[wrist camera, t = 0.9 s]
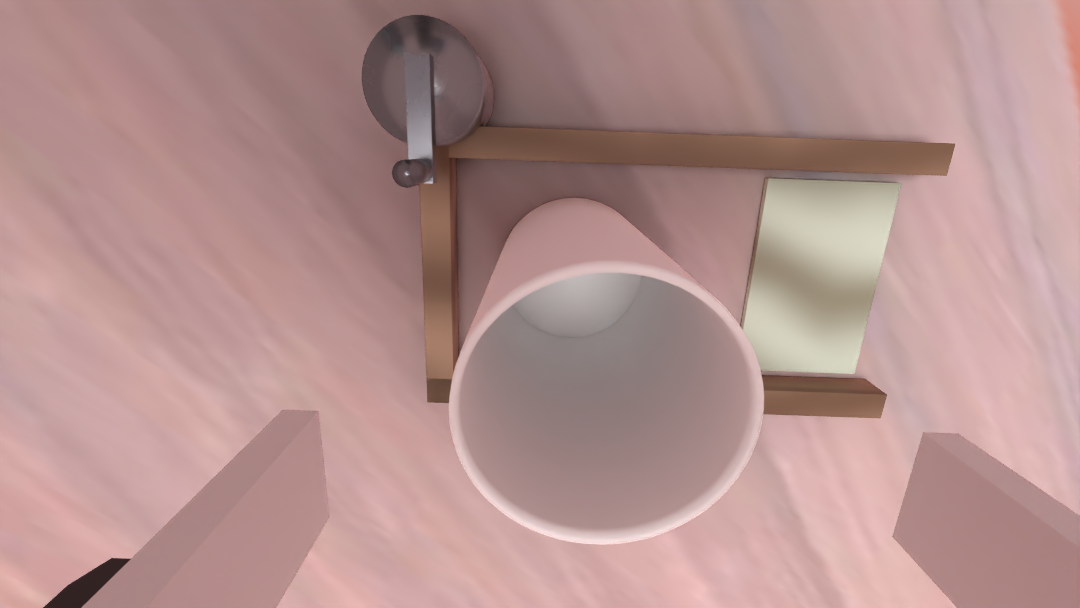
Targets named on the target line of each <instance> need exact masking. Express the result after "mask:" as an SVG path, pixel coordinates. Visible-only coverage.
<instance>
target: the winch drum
mask: <svg viewBox="0 0 1080 608" xmlns="http://www.w3.org/2000/svg"><path fill="white" fill-rule="evenodd" d="M362 85H363V91H364V95H365V99H366V101H367V104H368V106H369V108H370V110H371V112H372V114H373V115H374V117H375V118H376V120H377V121H378V122H379V123H380V125H381V126H382V127H383V128H384V129H385V130H386V131H388V132H389V133H390V134H391V135H393V136H394V137H396V138H398V139H400V140H401V141H404V142H406V143H408V160H401V161H399V162H397V163H396V164H395V165H394V167H393V170H392V175H393V179H394V180H395V182H396V183H397V184H398V185H400V186H402V187H406V188H408V187H412V186H416V185H419V184H422V183H428V184H434V183H437V166H436V146H450V145H454V144H457V143H459V142H461V141H463V140H465V139H467V138H468V137H470V136H471V135H472V134H473V133H474V132H475V131H476V130H477V129H478V127H479V126H486V124H487V123H488V121H489V119H490V116H491V113H492V110H493V105H494V89H493V83H492V80H491V77H490V74H489V72H488V70H487V68H486V66H485V65H484V63H483V62H482V60H481V59H480V58H479V56H478V55H477V54H476V52H475V51H474V49H473V48H472V47H471V45H470V44H469V42H468V41H467V40H466V39H465V37H464V36H463V35H462V34H461V33H460V32H459V31H458V30H456V29H455V28H454V27H452V26H451V25H449V24H448V23H446V22H444V21H442V20H440V19H437V18H434V17H430V16H424V15H411V16H406V17H402V18H399V19H397V20H395V21H393V22H391V23H389V24H388V25H386V26H385V27H384V28H382V29H381V30H380V31H379V32H378V33H377V35H376V36H375V37H374V39H373V40H372V41H371V43H370V45H369V47H368V49H367V52H366V54H365V57H364V62H363V68H362Z"/></svg>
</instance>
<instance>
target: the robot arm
mask: <svg viewBox="0 0 1080 608" xmlns="http://www.w3.org/2000/svg"><path fill="white" fill-rule="evenodd" d="M329 517H330V516H329V507H328V498H327V488H326V479H325V469H324V460H323V451H322V441H321V432H320V422H319V413H318V411H301V410H282V411H281V412H280V413H279V414H278V415H277V416H276V417H275V418H274V419H273V420H272V421H271V422H270V423H269V424H268V425H267V426H266V427H265V428H264V429H263V430H262V431H261V432H260V433H259V434H258V435H257V436H256V437H255V438H254V439H253V440H252V441H251V442H250V443H249V444H248V445H247V446H246V447H245V448H244V449H243V450H241V451H240V452H239V453H238V454H237V455H236V456H235V457H234V458H233V459H232V460H231V461H230V462H229V463H228V464H227V465H226V466H225V467H224V468H223V469H222V470H221V471H220V472H219V473H218V474H217V475H216V476H215V477H214V478H213V479H212V480H211V481H210V482H209V483H208V484H207V485H206V486H205V487H204V488H203V489H202V490H201V491H200V492H199V493H198V494H197V495H196V496H195V497H194V498H193V499H192V500H191V501H190V502H189V503H188V504H186V505H185V506H184V507H183V508H182V509H181V510H180V511H179V512H178V513H177V514H176V515H175V516H174V517H173V518H172V519H171V520H170V521H169V522H168V523H167V524H166V525H165V526H164V527H163V528H162V529H161V530H160V531H159V532H158V533H157V534H156V535H155V536H154V537H153V538H152V539H151V540H150V541H149V542H148V543H147V544H146V545H145V546H144V547H143V548H142V549H141V550H140V551H139V552H138V553H137V554H136V555H135V556H134V557H133V558H131V559H120V558H111V559H110V560H108V561H106V562H105V563H103V564H101V565H100V566H98V567H97V568H95V569H93V570H92V571H90V572H89V573H87V574H85V575H84V576H82V577H81V578H79V579H77V580H76V581H74V582H72V583H71V584H69V585H68V586H67V587H65V588H64V589H63V590H62V591H61V592H60V593H59V594H58V595H57V596H56V597H54V598H53V599H52V600H51V601H50V602H49V603H48V604H47V605H46V606H45V607H43V608H276V607H277V605H278V604H279V602H280V600H281V598H282V597H283V595H284V593H285V592H286V590H287V588H288V587H289V585H290V583H291V582H292V580H293V578H294V576H295V575H296V573H297V571H298V570H299V568H300V566H301V565H302V563H303V561H304V559H305V558H306V556H307V554H308V553H309V551H310V549H311V548H312V546H313V544H314V543H315V541H316V539H317V537H318V536H319V534H320V532H321V531H322V529H323V527H324V526H325V524H326V522H327V520H328V519H329ZM892 537H893V538H894V539H895V540H896V541H897V542H898V543H899V544H900V545H901V546H902V548H903V549H904V550H905V551H906V552H907V553H908V554H909V555H910V556H911V557H912V559H913V560H914V561H915V562H916V563H917V564H918V565H919V566H920V567H921V568H922V570H923V571H924V572H925V573H926V574H927V575H928V576H929V577H930V578H931V579H932V581H933V582H934V583H935V584H936V585H937V586H938V587H939V588H940V589H941V590H942V592H943V593H944V594H945V595H946V596H947V597H948V598H949V599H950V600H951V601H952V603H953V604H954V605H955V606H956V607H957V608H1080V516H1079V515H1078V514H1076V513H1075V512H1073V511H1072V510H1070V509H1069V508H1067V507H1066V506H1065V505H1063V504H1062V503H1060V502H1059V501H1057V500H1056V499H1054V498H1053V497H1051V496H1050V495H1048V494H1047V493H1045V492H1044V491H1042V490H1041V489H1039V488H1038V487H1036V486H1035V485H1033V484H1032V483H1031V482H1029V481H1028V480H1026V479H1025V478H1023V477H1022V476H1020V475H1019V474H1017V473H1016V472H1014V471H1013V470H1011V469H1010V468H1008V467H1007V466H1005V465H1004V464H1002V463H1001V462H999V461H998V460H997V459H995V458H994V457H992V456H991V455H989V454H988V453H986V452H985V451H983V450H982V449H980V448H979V447H977V446H976V445H974V444H973V443H971V442H970V441H968V440H967V439H965V438H964V437H963V436H961V435H960V434H953V433H925V432H923V435H922V438H921V442H920V445H919V448H918V452H917V455H916V458H915V462H914V465H913V469H912V472H911V475H910V479H909V482H908V486H907V489H906V492H905V496H904V499H903V503H902V506H901V509H900V513H899V516H898V520H897V523H896V526H895V530H894V533H893V536H892Z"/></svg>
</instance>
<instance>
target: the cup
mask: <svg viewBox="0 0 1080 608" xmlns="http://www.w3.org/2000/svg"><path fill="white" fill-rule="evenodd" d="M763 412H764V388H763V380H762V375H761V370H760V366H759V363H758V360H757V357H756V354H755V352H754V350H753V347H752V345H751V343H750V341H749V340H748V338H747V336H746V334H745V333H744V331H743V329H742V328H741V327H740V325H739V324H738V322H737V321H736V320H735V318H734V317H733V316H732V314H731V313H730V312H729V311H728V310H727V309H726V308H725V306H724V305H723V304H722V303H721V302H720V301H719V300H718V299H716V298H715V297H714V296H713V295H712V294H711V293H710V292H709V291H707V290H706V289H705V288H704V287H703V286H702V285H701V284H700V283H698V282H697V281H696V280H695V279H694V278H693V277H692V276H690V275H689V274H688V273H687V272H686V271H685V270H684V269H682V268H681V267H680V266H679V265H678V264H677V263H676V262H674V261H673V260H672V259H671V258H670V257H669V256H668V255H666V254H665V253H664V252H663V251H662V250H661V249H660V248H658V247H657V246H656V245H655V244H654V243H653V242H652V241H650V240H649V239H648V238H647V237H646V236H645V235H644V234H642V233H641V232H640V231H639V230H638V229H637V228H635V227H634V226H633V225H632V224H631V223H630V222H629V221H627V220H626V219H625V218H624V217H623V216H622V215H621V214H619V213H618V212H617V211H615V210H614V209H612V208H610V207H609V206H607V205H605V204H602V203H600V202H597V201H594V200H590V199H584V198H564V199H558V200H554V201H551V202H548V203H545V204H543V205H541V206H539V207H537V208H535V209H534V210H532V211H531V212H529V213H528V214H527V215H526V216H524V217H523V218H522V219H521V220H520V221H519V222H518V223H517V225H516V226H515V227H514V228H513V230H512V231H511V233H510V234H509V236H508V238H507V240H506V242H505V245H504V247H503V250H502V252H501V254H500V257H499V259H498V262H497V264H496V267H495V269H494V271H493V274H492V276H491V279H490V281H489V283H488V286H487V288H486V291H485V293H484V296H483V298H482V300H481V303H480V305H479V308H478V310H477V312H476V315H475V317H474V320H473V322H472V325H471V327H470V330H469V332H468V334H467V337H466V339H465V342H464V344H463V347H462V349H461V352H460V354H459V357H458V360H457V362H456V365H455V369H454V373H453V377H452V383H451V390H450V397H449V421H450V429H451V434H452V439H453V443H454V446H455V449H456V452H457V455H458V457H459V459H460V462H461V464H462V466H463V468H464V469H465V471H466V473H467V475H468V476H469V478H470V479H471V481H472V482H473V484H474V485H475V486H476V488H477V489H478V490H479V491H480V492H481V494H482V495H483V496H484V497H485V498H486V499H487V500H488V501H489V502H490V503H491V504H492V505H493V506H495V507H496V508H497V509H498V510H500V511H501V512H502V513H503V514H505V515H506V516H508V517H509V518H511V519H512V520H514V521H515V522H517V523H519V524H521V525H523V526H525V527H526V528H529V529H531V530H533V531H536V532H538V533H540V534H543V535H546V536H549V537H552V538H556V539H560V540H564V541H569V542H575V543H583V544H619V543H627V542H633V541H638V540H642V539H646V538H650V537H653V536H656V535H660V534H663V533H665V532H667V531H670V530H672V529H675V528H677V527H679V526H681V525H683V524H685V523H687V522H688V521H690V520H692V519H693V518H695V517H696V516H698V515H700V514H701V513H702V512H704V511H705V510H706V509H708V508H709V507H710V506H712V505H713V504H714V503H715V502H716V501H717V500H718V499H719V498H721V497H722V496H723V495H724V494H725V492H726V491H727V490H728V489H729V488H730V487H731V486H732V485H733V483H734V482H735V481H736V479H737V478H738V477H739V476H740V474H741V472H742V471H743V469H744V468H745V466H746V464H747V463H748V461H749V459H750V457H751V455H752V453H753V451H754V448H755V445H756V443H757V440H758V437H759V433H760V429H761V425H762V419H763Z"/></svg>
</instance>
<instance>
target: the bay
mask: <svg viewBox="0 0 1080 608" xmlns="http://www.w3.org/2000/svg"><path fill="white" fill-rule="evenodd" d="M954 147H955V144H949V143H922V142H895V141H867V140H840V139H813V138H786V137H759V136H732V135H704V134H677V133H650V132H623V131H596V130H569V129H542V128H514V127H487V126H479V127H478V129H477V130H476V131H475V132H474V133H473V134H472V135H471V136H470V137H468V138H467V139H465V140H463V141H461V142H459V143H457V144H454V145H450V146H436V166H437V183H434V184H428V183H422V184H420V211H421V239H422V266H423V293H424V320H425V347H426V374H427V401H428V402H435V403H449V397H450V390H451V383H452V377H453V373H454V369H455V365H456V362H457V360H458V357H459V325H458V259H457V193H456V158H476V159H503V160H531V161H558V162H585V163H613V164H640V165H667V166H694V167H722V168H749V169H776V170H804V171H831V172H858V173H885V174H913V175H940V176H947V173H948V169H949V165H950V162H951V158H952V154H953V151H954ZM900 187H901V183H890V182H863V181H835V180H808V179H781V178H765V183H764V189H763V195H762V201H761V207H760V213H759V219H758V225H757V231H756V238H755V244H754V250H753V256H752V262H751V268H750V274H749V280H748V286H747V292H746V298H745V304H744V310H743V316H742V322H741V328H742V329H743V331H744V333H745V334H746V336H747V338H748V340H749V341H750V343H751V345H752V347H753V350H754V352H755V354H756V357H757V360H758V363H759V366H760V370H762V371H790V372H818V373H846V374H854V373H855V369H856V365H857V361H858V357H859V353H860V349H861V345H862V341H863V337H864V333H865V329H866V325H867V321H868V317H869V313H870V309H871V305H872V301H873V297H874V292H875V288H876V284H877V280H878V276H879V272H880V268H881V264H882V260H883V256H884V252H885V248H886V244H887V240H888V236H889V232H890V228H891V224H892V220H893V216H894V212H895V207H896V203H897V199H898V195H899V191H900ZM762 380H763V388H764V412H763V414H774V415H803V416H831V417H859V418H881V415H882V411H883V408H884V404H885V400H886V397H887V394H885V393H884V392H882V391H881V390H880V389H878V388H877V387H875V386H874V385H873V384H871V383H870V382H869V381H867V380H866V379H850V378H822V377H794V376H765V375H762Z"/></svg>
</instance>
